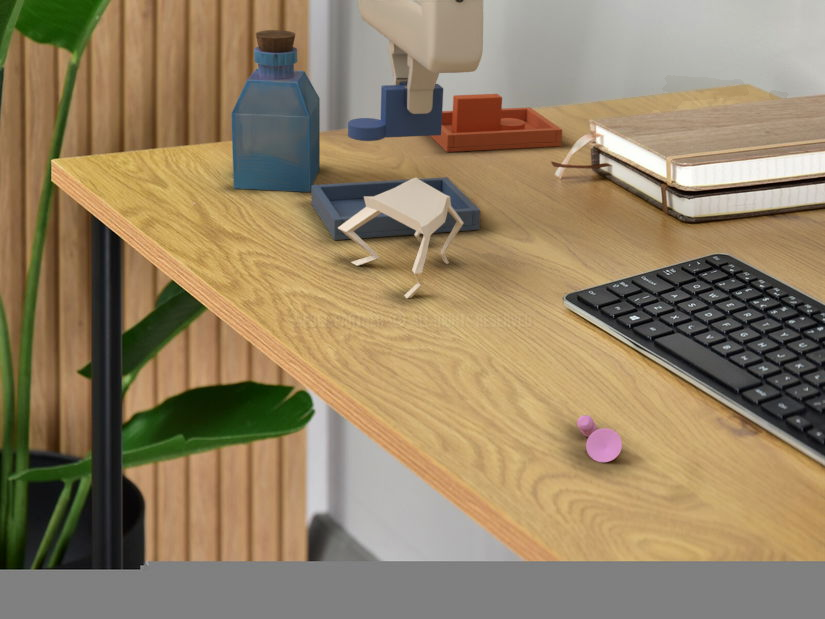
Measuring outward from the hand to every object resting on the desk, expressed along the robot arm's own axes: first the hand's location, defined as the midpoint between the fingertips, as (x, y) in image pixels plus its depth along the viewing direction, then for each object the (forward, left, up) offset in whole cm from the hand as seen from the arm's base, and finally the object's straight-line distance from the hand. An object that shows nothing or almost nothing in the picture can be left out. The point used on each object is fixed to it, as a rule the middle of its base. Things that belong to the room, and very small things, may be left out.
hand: (412, 106), depth 90 cm
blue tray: (+1, 0, -9) cm, 9 cm away
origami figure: (+3, +11, -9) cm, 14 cm away
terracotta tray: (-14, -20, -9) cm, 26 cm away
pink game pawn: (0, +36, -9) cm, 37 cm away
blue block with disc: (+1, 0, -2) cm, 3 cm away
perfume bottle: (+8, -11, -9) cm, 16 cm away
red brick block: (-14, -20, -8) cm, 26 cm away
